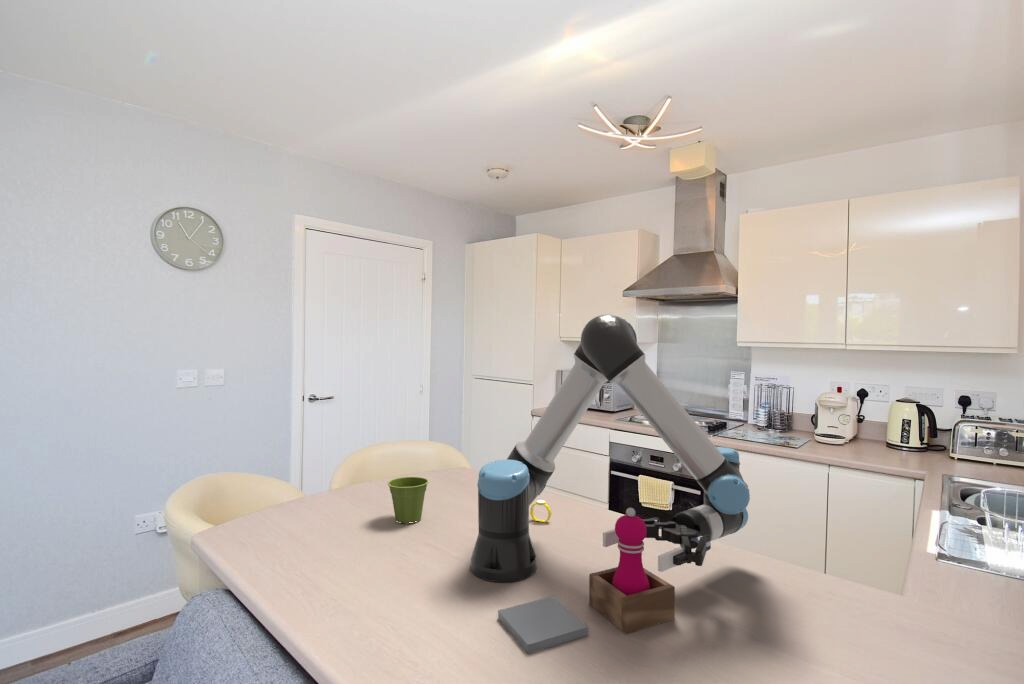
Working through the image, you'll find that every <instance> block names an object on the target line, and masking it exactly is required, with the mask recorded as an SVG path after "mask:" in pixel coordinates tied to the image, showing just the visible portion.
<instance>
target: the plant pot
mask: <svg viewBox="0 0 1024 684" xmlns="http://www.w3.org/2000/svg"><path fill="white" fill-rule="evenodd" d="M429 483H430V480H429V479H428V478H425V477H421V476H404V477H396V478H393V479H390V480H389V481H388V482H387V483H386V484H387V486H388V487H389V491H390V494H391V500H392V506H393V511H394V519H395V522H396V521H398V522H402V523H401V524H406V523H409V522H415V521H418V520H419V521H420V520H421V519H422V517H423V515H422V514H423V508H424V502H425V495H426V491H427V486H428V484H429ZM419 521H418V522H419ZM398 522H397V523H398Z"/></svg>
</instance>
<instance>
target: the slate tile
mask: <svg viewBox="0 0 1024 684" xmlns="http://www.w3.org/2000/svg"><path fill="white" fill-rule="evenodd" d="M497 612H498V613H497V615H498V617H497V619H498V620H499V621H500V622H501V623H502V625H503V626H504V627H505V628H506V629H507V631H509V634H511V636H512V637H513V638H514V639H515V640H516V641H517V643H518V644H519V645H520V647H522V649H523V650H524V651H525V652H526V653H527V654H528V655H529V654H531V653H534V652H538V651H541V650H546V649H548V648H552V647H555V646H557V645H560V644H564V643H567V642H570V641H574V640H577V639H581V638H583V637H586V636H589V633H588V632H589V627H588V625H586V624H585V623H584V622H583V621H582V620H581V619H580V618H579V617H578V616H576V615H575V614H574V613H573V612H572V611H571V610H570V609H569V608H568V607H566V606H565V605H564V604H563V603H562V602H560V600H558V599H557V598H556V597H555V596H554V595H552V596H549V597H545V598H542V599H541V598H540V599H537V600H533V601H529V602H526V603H522V604H518V605H514V606H510V607H505V608H502V609H498V610H497Z"/></svg>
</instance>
